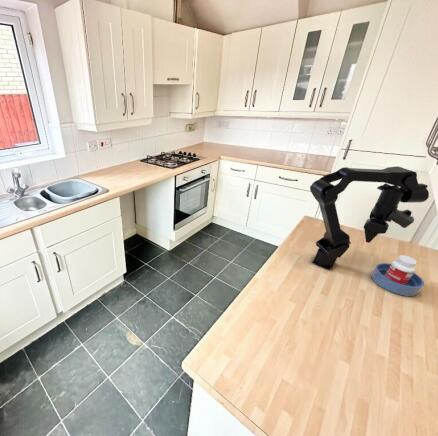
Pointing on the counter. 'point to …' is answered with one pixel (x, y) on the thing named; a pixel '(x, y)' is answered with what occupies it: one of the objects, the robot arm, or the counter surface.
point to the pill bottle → (401, 270)
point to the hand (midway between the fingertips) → (369, 237)
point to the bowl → (408, 290)
